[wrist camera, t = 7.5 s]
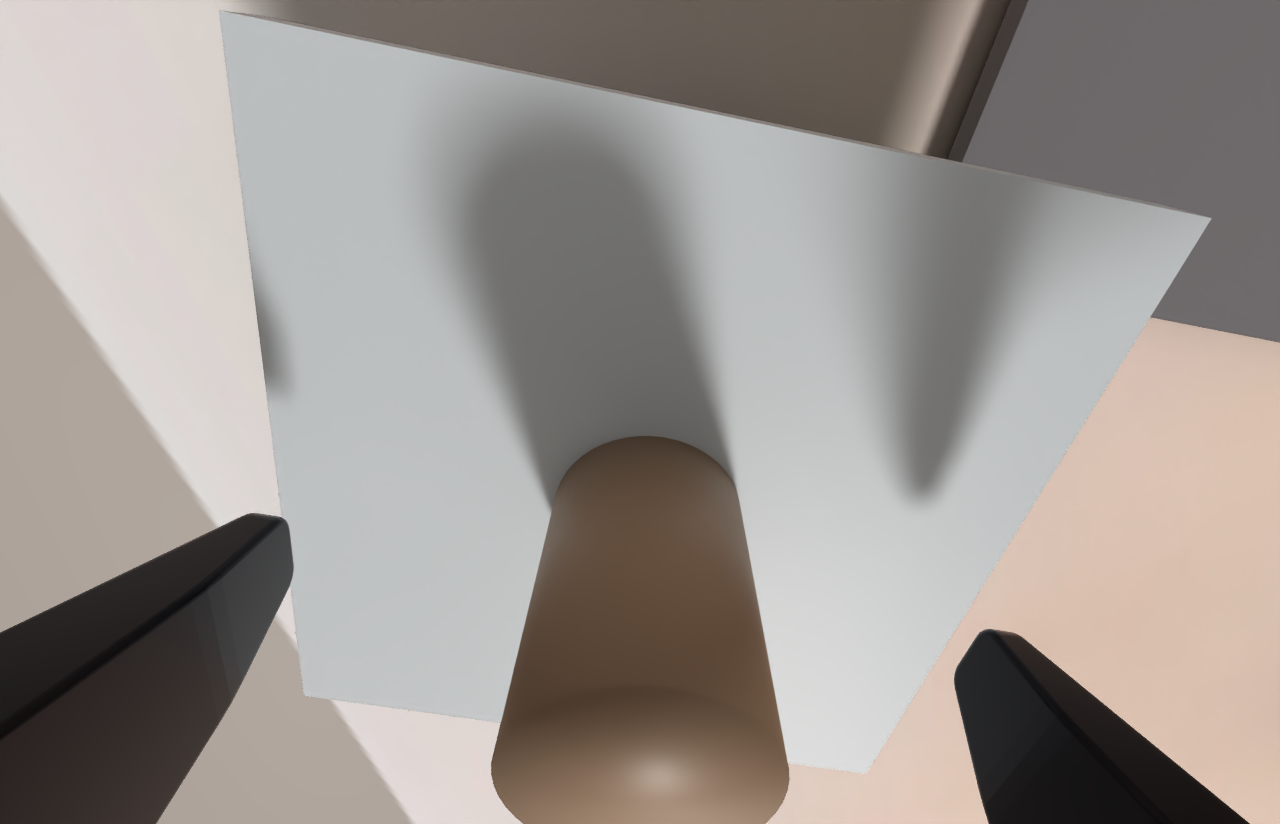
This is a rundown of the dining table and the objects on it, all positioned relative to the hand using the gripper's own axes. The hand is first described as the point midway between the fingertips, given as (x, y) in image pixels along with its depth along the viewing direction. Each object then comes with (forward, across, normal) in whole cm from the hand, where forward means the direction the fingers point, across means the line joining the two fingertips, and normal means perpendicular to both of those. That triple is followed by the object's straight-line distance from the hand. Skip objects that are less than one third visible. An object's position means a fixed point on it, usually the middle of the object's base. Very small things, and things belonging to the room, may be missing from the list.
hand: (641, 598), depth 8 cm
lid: (+2, 0, 0) cm, 2 cm away
